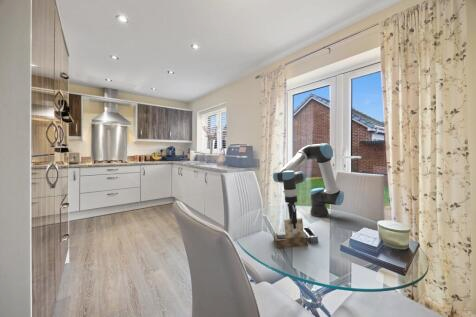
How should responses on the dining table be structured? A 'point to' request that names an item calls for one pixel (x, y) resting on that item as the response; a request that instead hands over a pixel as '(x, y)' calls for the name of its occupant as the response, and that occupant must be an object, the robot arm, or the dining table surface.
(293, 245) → the rack
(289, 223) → the beige flat slab
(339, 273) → the dining table surface
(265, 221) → the dining table surface
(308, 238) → the stand
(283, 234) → the offcut upper
